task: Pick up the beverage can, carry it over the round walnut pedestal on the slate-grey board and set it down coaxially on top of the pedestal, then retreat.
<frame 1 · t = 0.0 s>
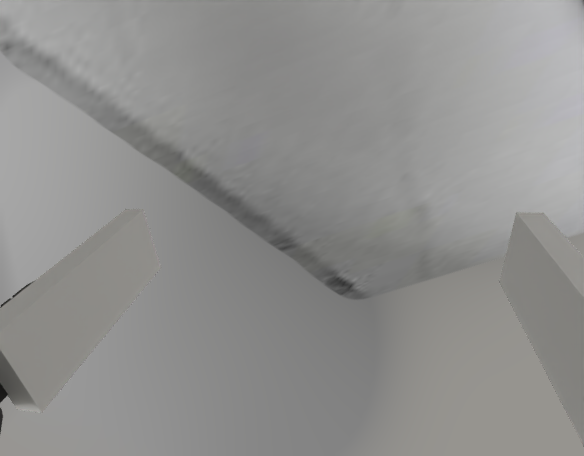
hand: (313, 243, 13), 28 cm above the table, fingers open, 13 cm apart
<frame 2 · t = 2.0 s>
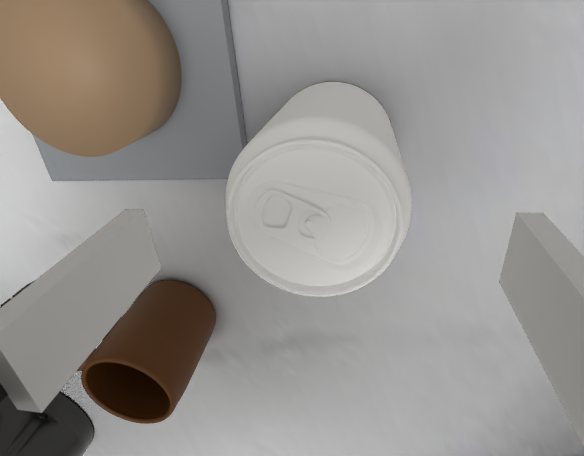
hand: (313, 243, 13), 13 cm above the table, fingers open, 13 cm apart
mug: (159, 300, 35), on the table
beverage can: (331, 142, 25), on the table
pedestal: (121, 62, 24), on the table
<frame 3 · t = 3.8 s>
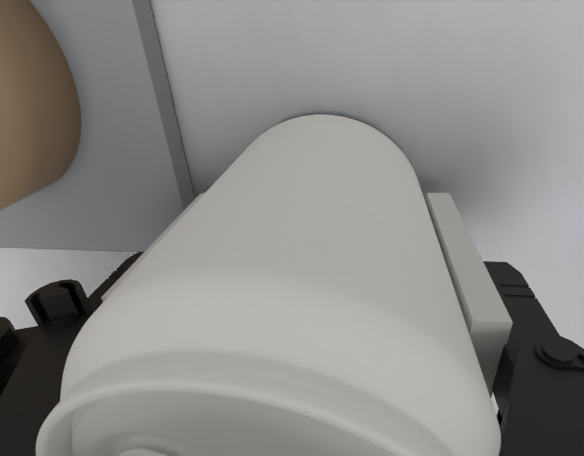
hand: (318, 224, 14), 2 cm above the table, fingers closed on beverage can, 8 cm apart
beverage can: (323, 202, 16), on the table, touching gripper
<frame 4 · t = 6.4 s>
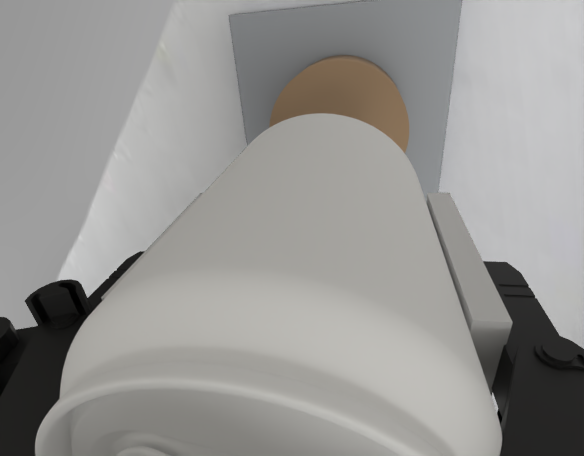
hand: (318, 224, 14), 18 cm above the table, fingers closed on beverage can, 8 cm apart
beverage can: (323, 202, 16), point 16 cm above the table, touching gripper
pedestal: (341, 118, 30), on the table
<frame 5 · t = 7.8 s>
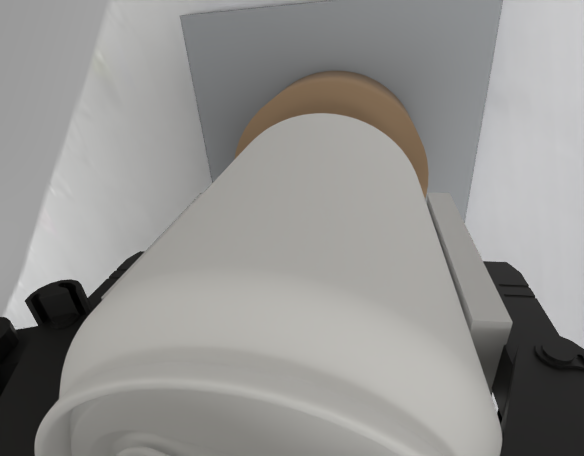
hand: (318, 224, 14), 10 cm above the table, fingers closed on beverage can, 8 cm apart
beverage can: (323, 201, 16), point 8 cm above the table, touching gripper
pedestal: (334, 150, 23), on the table
when the fingers open (8 cm above the table, at t = 8.9 s): beverage can drops 1 cm, resting on pedestal.
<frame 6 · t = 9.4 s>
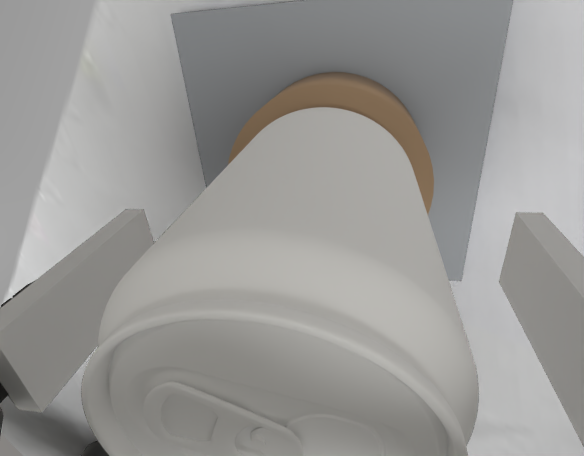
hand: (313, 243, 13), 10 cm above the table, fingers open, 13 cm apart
beverage can: (324, 191, 17), point 5 cm above the table, touching pedestal
pedestal: (334, 155, 22), on the table
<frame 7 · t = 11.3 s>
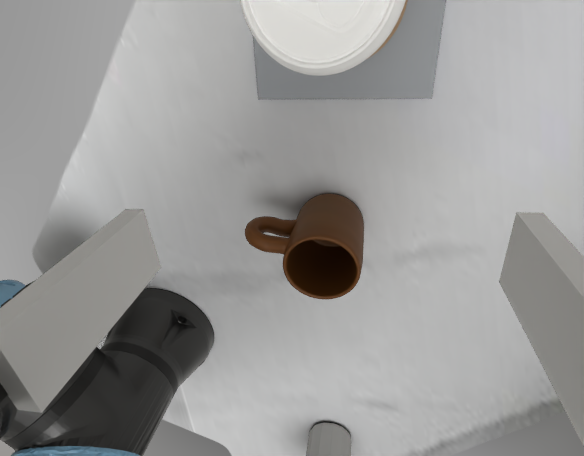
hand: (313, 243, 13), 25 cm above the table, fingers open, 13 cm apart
mug: (313, 213, 42), on the table
water bottle: (327, 433, 63), on the table
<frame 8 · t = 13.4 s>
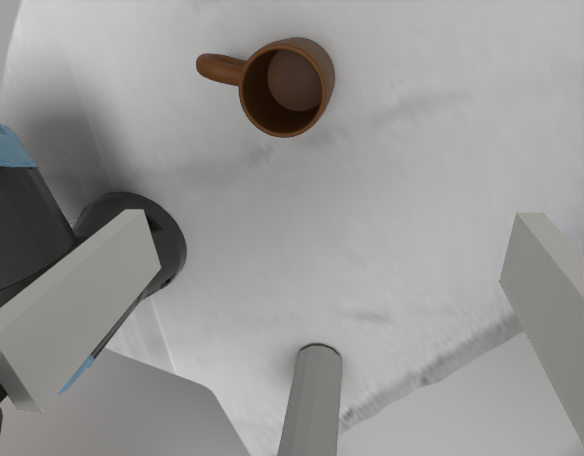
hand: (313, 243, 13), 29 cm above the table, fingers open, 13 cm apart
mug: (279, 71, 38), on the table
water bottle: (316, 360, 58), on the table
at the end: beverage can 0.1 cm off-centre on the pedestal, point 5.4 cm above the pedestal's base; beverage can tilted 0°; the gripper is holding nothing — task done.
